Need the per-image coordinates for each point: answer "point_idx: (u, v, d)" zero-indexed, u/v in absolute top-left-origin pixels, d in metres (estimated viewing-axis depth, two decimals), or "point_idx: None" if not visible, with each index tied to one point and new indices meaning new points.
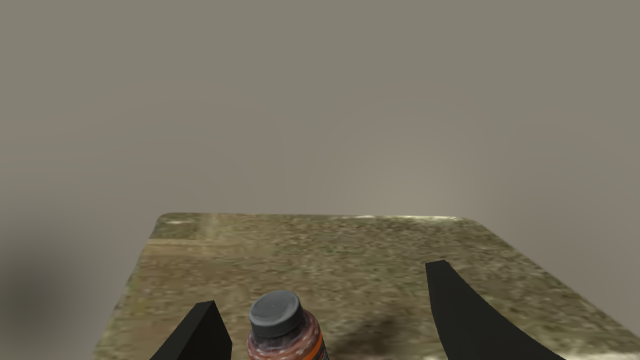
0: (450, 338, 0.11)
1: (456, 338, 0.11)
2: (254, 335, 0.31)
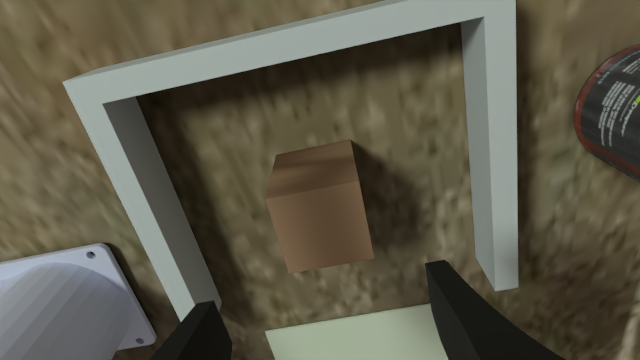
0: (450, 338, 0.11)
1: (456, 338, 0.11)
2: None
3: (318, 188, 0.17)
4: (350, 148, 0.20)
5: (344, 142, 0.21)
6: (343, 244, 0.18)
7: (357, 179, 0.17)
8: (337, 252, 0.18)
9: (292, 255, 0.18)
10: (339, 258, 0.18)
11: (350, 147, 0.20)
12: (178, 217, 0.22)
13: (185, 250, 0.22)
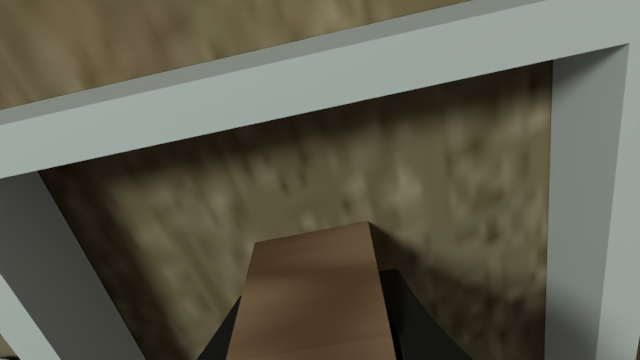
0: (396, 347, 0.11)
1: (398, 347, 0.11)
2: None
3: (318, 346, 0.09)
4: (369, 243, 0.13)
5: (359, 227, 0.14)
6: None
7: (388, 331, 0.09)
8: None
9: None
10: None
11: (369, 240, 0.13)
12: (110, 331, 0.15)
13: None
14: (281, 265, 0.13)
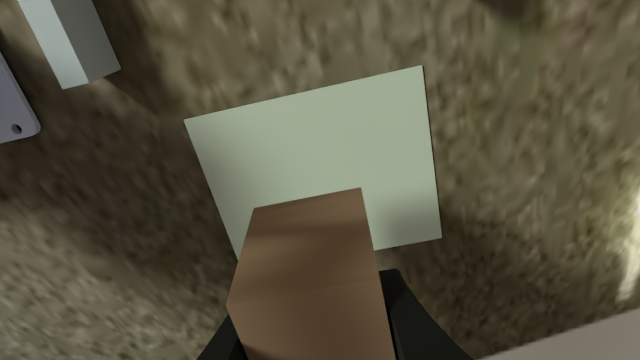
0: (396, 347, 0.11)
1: (398, 347, 0.11)
2: None
3: (312, 289, 0.10)
4: (362, 205, 0.13)
5: (352, 192, 0.14)
6: None
7: (376, 275, 0.10)
8: None
9: None
10: None
11: (362, 202, 0.14)
12: None
13: None
14: (278, 225, 0.13)
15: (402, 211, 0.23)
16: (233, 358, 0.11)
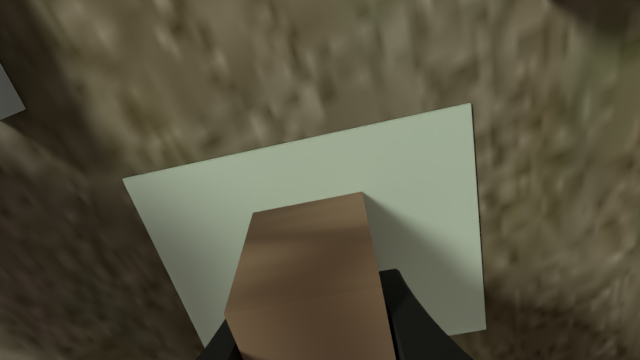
0: (396, 347, 0.11)
1: (398, 347, 0.11)
2: None
3: (312, 297, 0.10)
4: (363, 210, 0.13)
5: (353, 197, 0.14)
6: None
7: (378, 282, 0.10)
8: None
9: None
10: None
11: (363, 207, 0.13)
12: None
13: None
14: (278, 231, 0.13)
15: (432, 297, 0.17)
16: (233, 358, 0.11)
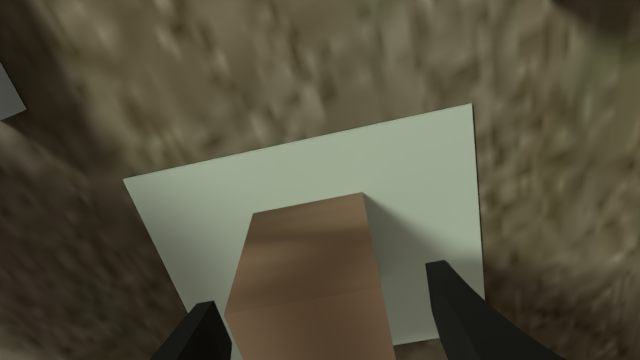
0: (450, 338, 0.11)
1: (456, 338, 0.11)
2: None
3: (312, 298, 0.10)
4: (363, 210, 0.13)
5: (353, 197, 0.14)
6: None
7: (378, 283, 0.10)
8: None
9: None
10: None
11: (363, 208, 0.13)
12: None
13: None
14: (278, 231, 0.13)
15: None
16: None
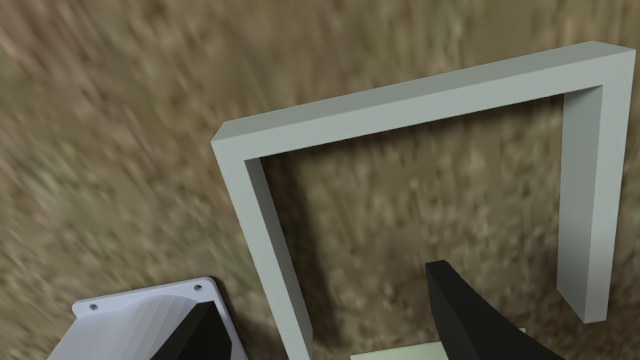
0: (450, 338, 0.11)
1: (456, 338, 0.11)
2: None
3: None
4: None
5: None
6: None
7: None
8: None
9: None
10: None
11: None
12: (286, 254, 0.24)
13: (292, 285, 0.24)
14: None
15: None
16: None
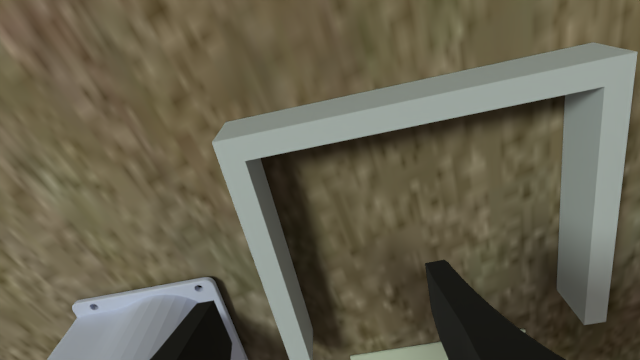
0: (450, 338, 0.11)
1: (456, 338, 0.11)
2: None
3: None
4: None
5: None
6: None
7: None
8: None
9: None
10: None
11: None
12: (286, 255, 0.24)
13: (293, 285, 0.24)
14: None
15: None
16: None
